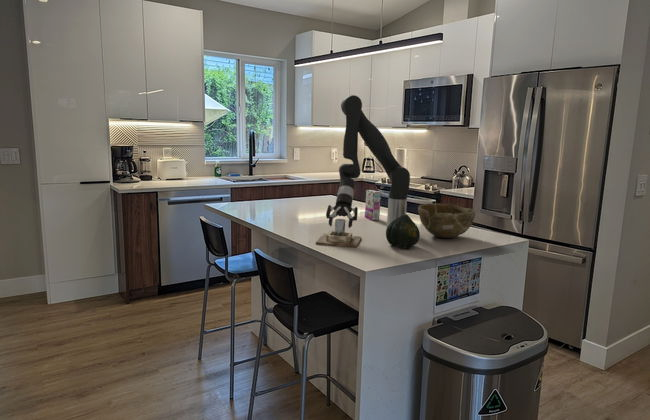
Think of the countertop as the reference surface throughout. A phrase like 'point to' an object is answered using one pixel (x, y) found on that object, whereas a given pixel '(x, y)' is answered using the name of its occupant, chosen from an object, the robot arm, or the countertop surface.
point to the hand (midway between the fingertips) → (339, 226)
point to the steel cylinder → (339, 227)
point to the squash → (402, 232)
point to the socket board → (339, 240)
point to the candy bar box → (372, 204)
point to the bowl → (445, 219)
